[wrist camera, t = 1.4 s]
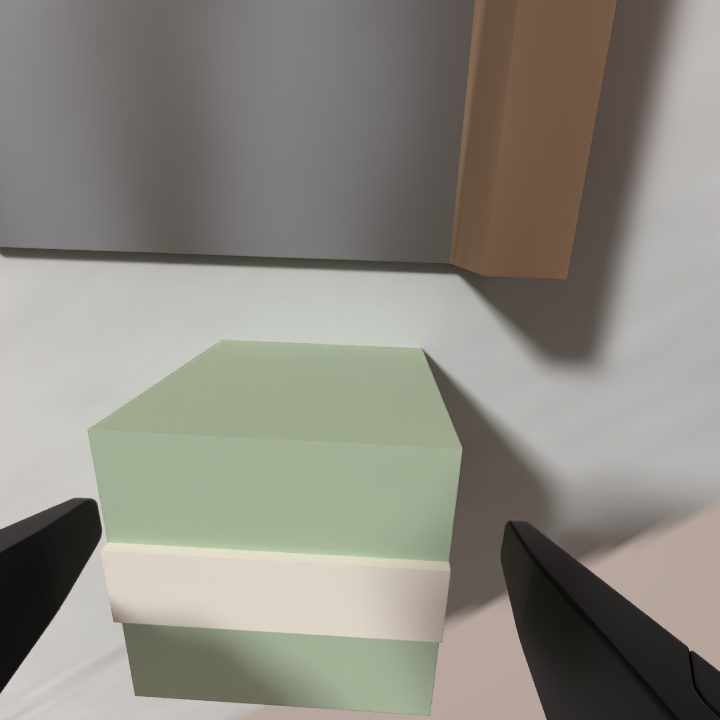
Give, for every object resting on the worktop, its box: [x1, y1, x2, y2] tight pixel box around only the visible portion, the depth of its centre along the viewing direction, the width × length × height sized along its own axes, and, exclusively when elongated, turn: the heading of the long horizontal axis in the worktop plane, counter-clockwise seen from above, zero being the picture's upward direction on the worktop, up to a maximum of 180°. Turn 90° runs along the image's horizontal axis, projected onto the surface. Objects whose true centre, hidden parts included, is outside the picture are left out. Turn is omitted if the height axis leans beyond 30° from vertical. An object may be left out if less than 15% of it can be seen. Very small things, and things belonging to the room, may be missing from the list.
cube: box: [88, 340, 463, 716], centre depth 10 cm, size 6×6×6 cm
